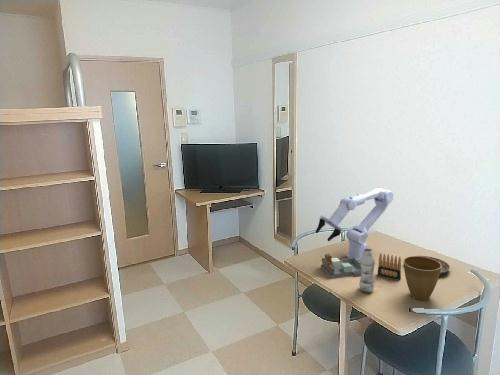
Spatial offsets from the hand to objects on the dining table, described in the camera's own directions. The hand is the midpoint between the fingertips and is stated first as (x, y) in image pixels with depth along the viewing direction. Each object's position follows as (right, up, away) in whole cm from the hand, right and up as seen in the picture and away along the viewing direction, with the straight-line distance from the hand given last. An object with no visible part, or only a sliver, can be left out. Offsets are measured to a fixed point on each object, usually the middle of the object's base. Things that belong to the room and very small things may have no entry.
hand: (322, 236), depth 181 cm
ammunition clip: (+31, -19, -10) cm, 38 cm away
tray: (+17, -17, 0) cm, 24 cm away
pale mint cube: (+11, -16, -5) cm, 21 cm away
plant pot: (+38, -23, -27) cm, 52 cm away
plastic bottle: (+16, -22, -21) cm, 35 cm away
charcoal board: (+7, -18, -2) cm, 19 cm away
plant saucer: (+53, -17, -3) cm, 56 cm away
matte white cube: (+7, -15, +1) cm, 17 cm away
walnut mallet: (+2, -16, -3) cm, 17 cm away
